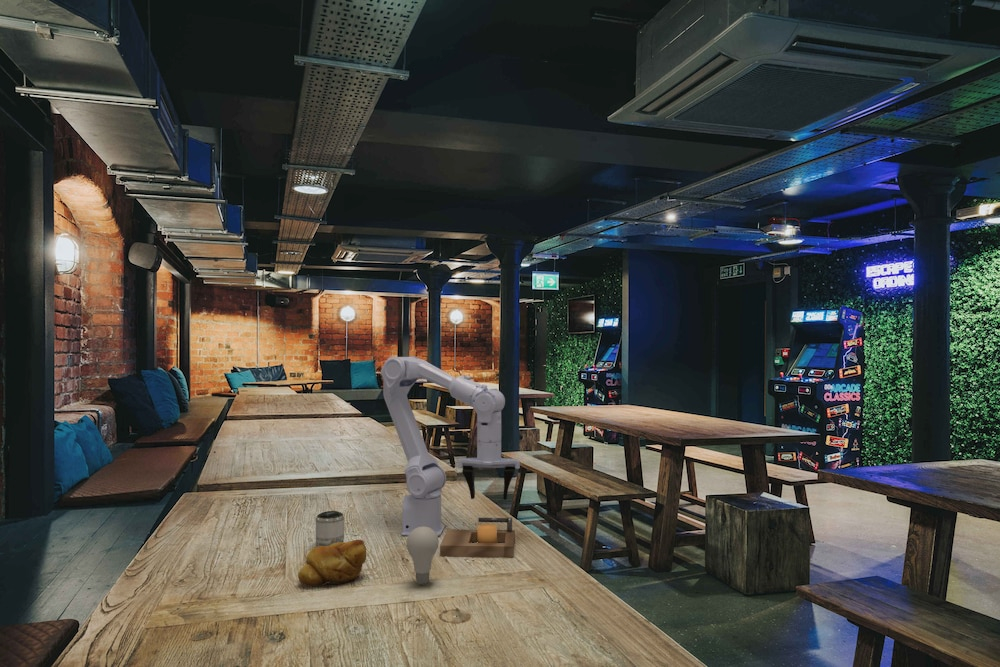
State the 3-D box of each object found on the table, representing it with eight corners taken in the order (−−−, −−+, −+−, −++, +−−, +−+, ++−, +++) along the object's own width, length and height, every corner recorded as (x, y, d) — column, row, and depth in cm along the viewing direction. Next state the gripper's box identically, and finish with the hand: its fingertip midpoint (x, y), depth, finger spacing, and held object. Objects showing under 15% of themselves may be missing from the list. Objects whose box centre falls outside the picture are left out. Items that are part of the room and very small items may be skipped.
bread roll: (302, 594, 114) (302, 551, 114) (292, 577, 123) (292, 537, 123) (370, 582, 120) (370, 540, 121) (356, 566, 129) (356, 527, 129)
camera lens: (349, 547, 141) (349, 512, 141) (325, 554, 136) (325, 518, 137) (334, 541, 145) (334, 507, 145) (310, 547, 141) (310, 513, 141)
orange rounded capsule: (475, 551, 138) (475, 529, 138) (479, 545, 142) (479, 523, 142) (495, 552, 137) (495, 529, 137) (498, 546, 142) (498, 524, 142)
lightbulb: (443, 580, 121) (443, 524, 121) (430, 592, 115) (430, 533, 115) (415, 577, 123) (415, 521, 123) (400, 588, 117) (400, 529, 117)
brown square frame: (439, 556, 135) (439, 545, 135) (447, 539, 147) (447, 529, 147) (513, 557, 134) (513, 546, 134) (514, 540, 146) (514, 530, 146)
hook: (478, 542, 145) (478, 518, 145) (478, 540, 146) (478, 517, 146) (512, 542, 144) (512, 518, 144) (512, 540, 145) (512, 517, 145)
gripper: (456, 442, 143) (456, 501, 143) (519, 443, 142) (518, 503, 142) (460, 438, 150) (460, 494, 150) (520, 439, 149) (520, 495, 149)
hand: (489, 498), depth 146 cm, fingers open, 7 cm apart
